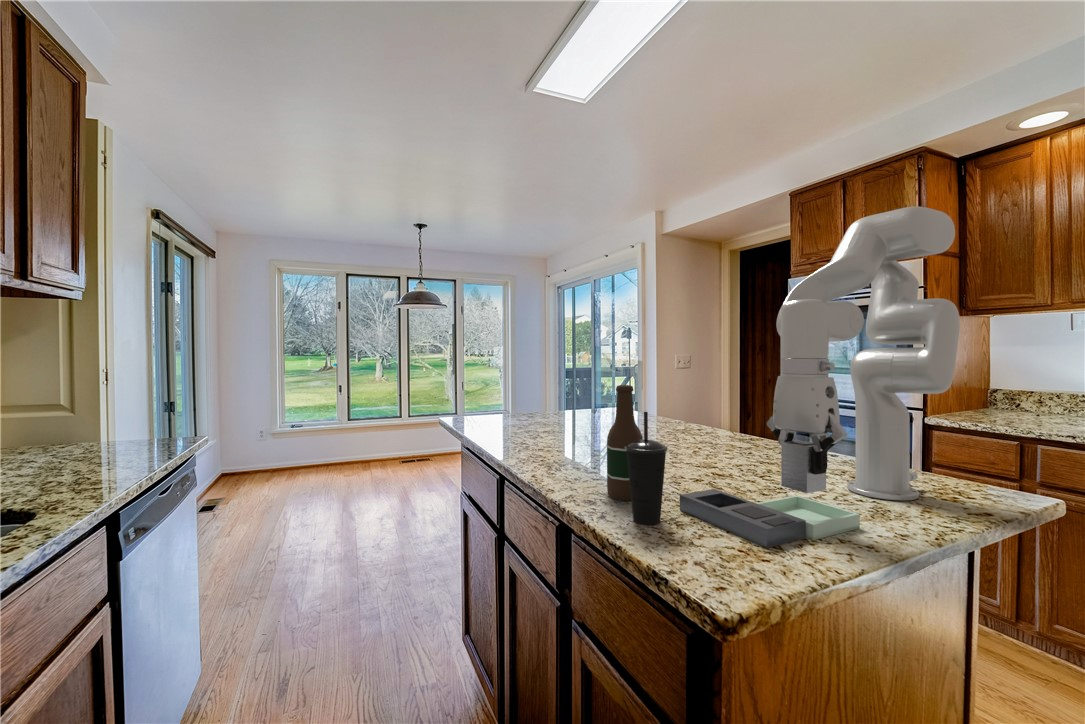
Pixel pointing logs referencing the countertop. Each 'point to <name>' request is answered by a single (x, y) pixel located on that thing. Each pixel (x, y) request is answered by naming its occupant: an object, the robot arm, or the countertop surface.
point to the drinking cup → (646, 477)
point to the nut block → (799, 468)
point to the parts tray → (816, 516)
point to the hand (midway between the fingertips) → (803, 468)
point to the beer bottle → (621, 445)
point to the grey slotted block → (744, 517)
